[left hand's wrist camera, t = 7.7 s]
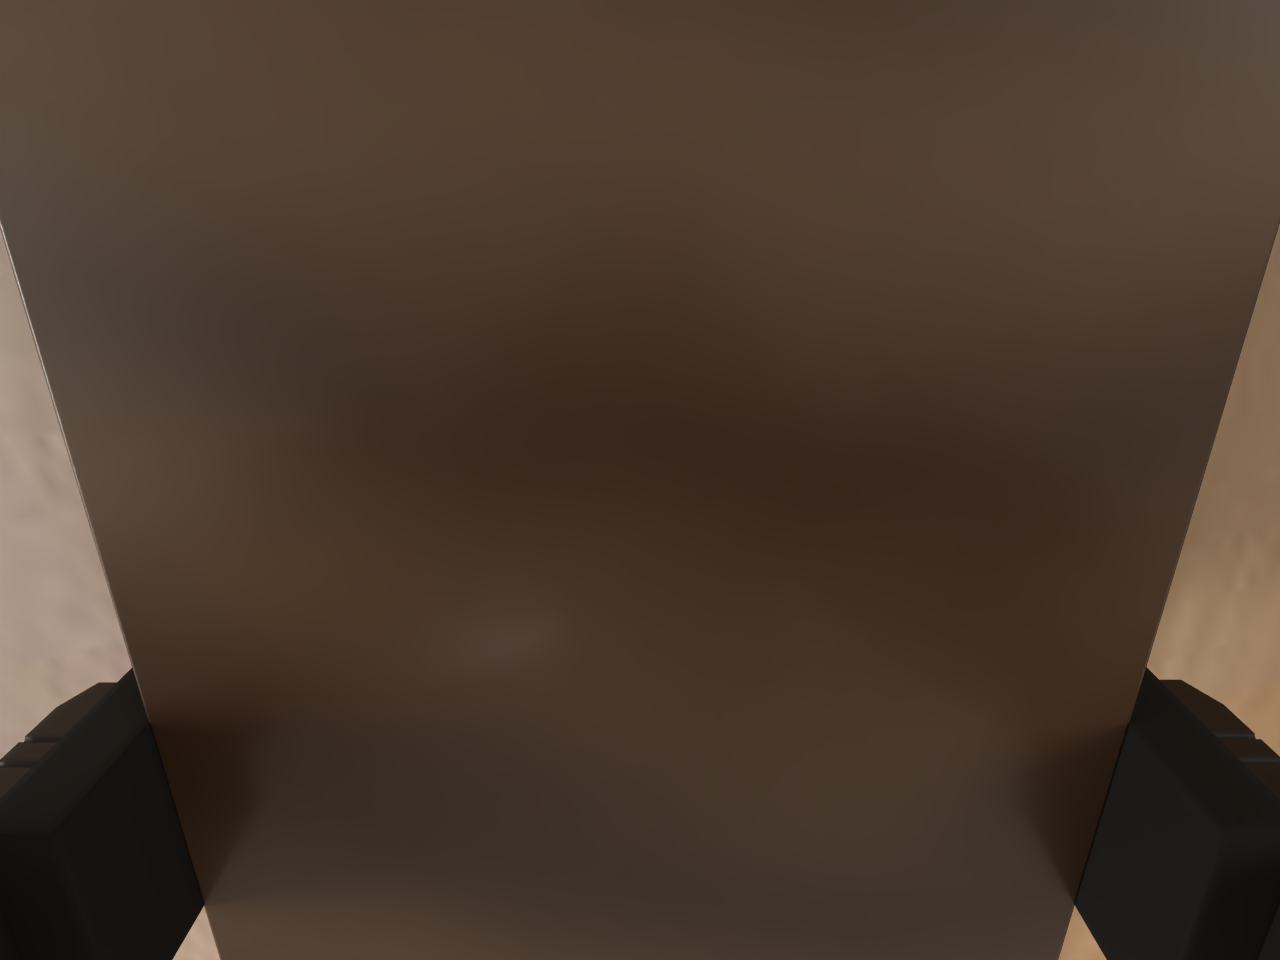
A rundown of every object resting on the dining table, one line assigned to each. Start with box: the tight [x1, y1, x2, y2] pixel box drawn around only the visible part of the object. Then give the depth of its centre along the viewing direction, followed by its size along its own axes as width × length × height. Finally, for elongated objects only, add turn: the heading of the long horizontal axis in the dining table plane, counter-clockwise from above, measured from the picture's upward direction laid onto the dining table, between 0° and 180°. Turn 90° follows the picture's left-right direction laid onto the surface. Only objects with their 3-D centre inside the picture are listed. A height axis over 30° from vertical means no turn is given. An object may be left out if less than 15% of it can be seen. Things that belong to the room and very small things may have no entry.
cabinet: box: [0, 0, 1280, 960], centre depth 11 cm, size 18×10×10 cm, turn 0°
